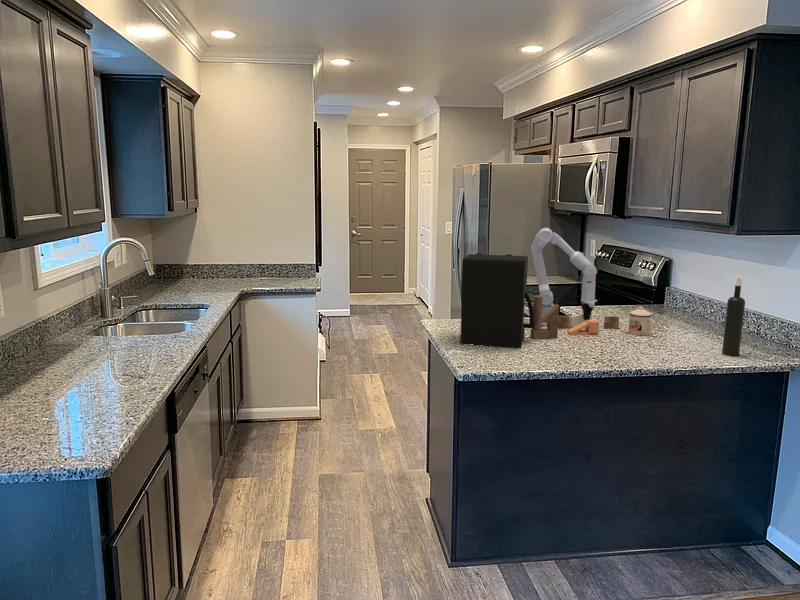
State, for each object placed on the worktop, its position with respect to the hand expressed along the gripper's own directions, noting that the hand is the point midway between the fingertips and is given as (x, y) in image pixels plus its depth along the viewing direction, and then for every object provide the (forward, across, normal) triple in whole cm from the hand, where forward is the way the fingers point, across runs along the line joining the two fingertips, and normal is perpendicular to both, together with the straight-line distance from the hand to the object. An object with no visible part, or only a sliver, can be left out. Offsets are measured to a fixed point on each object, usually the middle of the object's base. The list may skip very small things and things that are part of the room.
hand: (586, 319), depth 273 cm
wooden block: (+3, -22, +24) cm, 33 cm away
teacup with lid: (+3, -14, -20) cm, 25 cm away
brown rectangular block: (+3, -4, +1) cm, 5 cm away
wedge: (+3, -16, +6) cm, 17 cm away
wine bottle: (+3, -45, -42) cm, 62 cm away
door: (+3, +1, +2) cm, 4 cm away
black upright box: (+3, -28, +44) cm, 52 cm away
